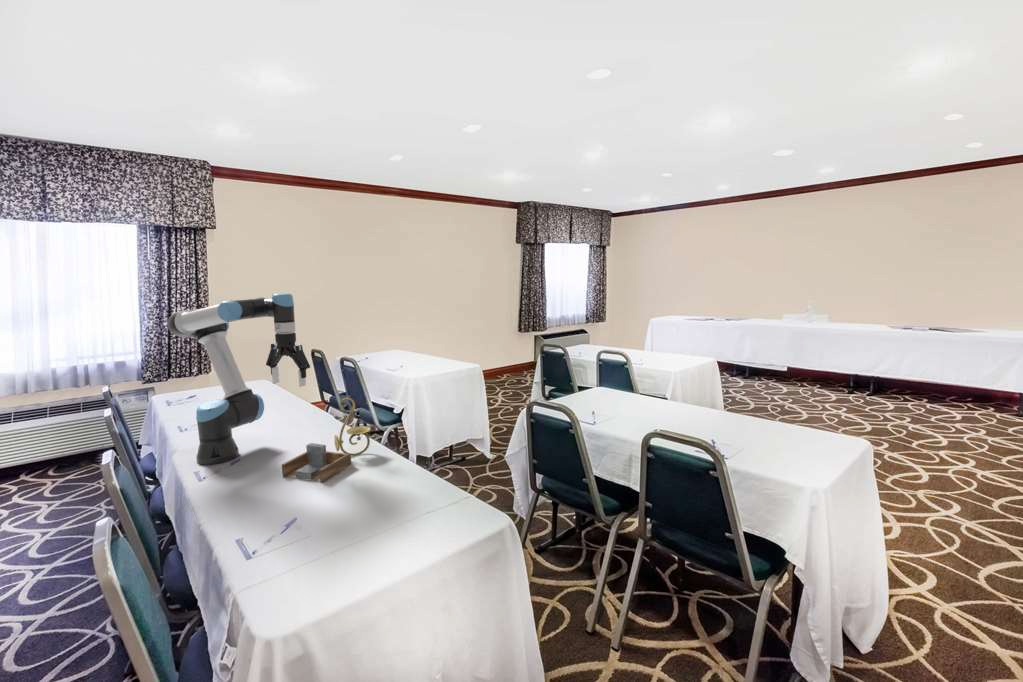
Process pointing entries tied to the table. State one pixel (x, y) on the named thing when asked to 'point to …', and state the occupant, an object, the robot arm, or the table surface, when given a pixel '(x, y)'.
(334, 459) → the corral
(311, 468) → the angle bracket
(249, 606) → the table surface
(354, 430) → the wall sconce
